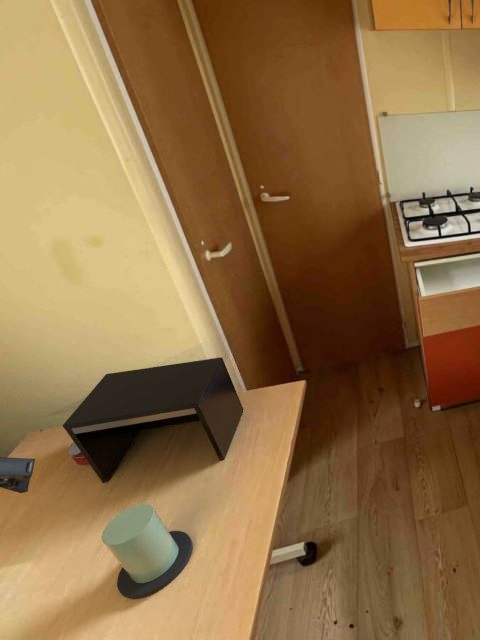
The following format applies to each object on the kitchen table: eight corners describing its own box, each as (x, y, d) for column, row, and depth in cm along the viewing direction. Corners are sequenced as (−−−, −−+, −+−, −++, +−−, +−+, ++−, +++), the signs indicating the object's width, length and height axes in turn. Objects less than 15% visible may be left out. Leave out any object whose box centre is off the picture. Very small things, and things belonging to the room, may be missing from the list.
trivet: (102, 598, 74) (99, 596, 73) (150, 533, 83) (148, 530, 83) (164, 599, 73) (162, 596, 73) (206, 533, 83) (204, 530, 83)
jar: (125, 566, 77) (95, 528, 72) (170, 533, 82) (145, 495, 77) (139, 592, 74) (108, 554, 68) (184, 556, 79) (160, 518, 73)
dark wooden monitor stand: (224, 459, 98) (197, 403, 89) (102, 483, 92) (62, 425, 84) (244, 410, 111) (222, 357, 102) (138, 428, 105) (106, 373, 97)
